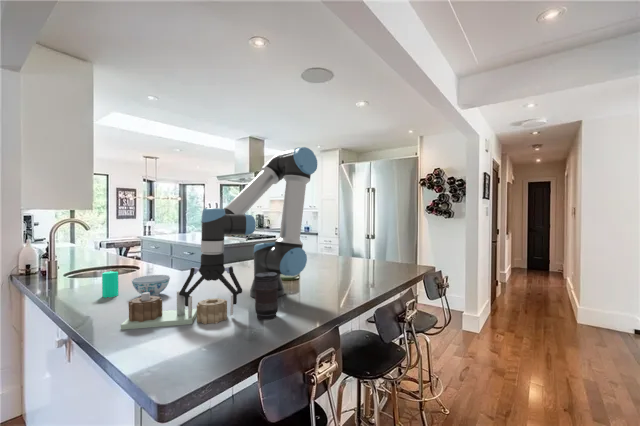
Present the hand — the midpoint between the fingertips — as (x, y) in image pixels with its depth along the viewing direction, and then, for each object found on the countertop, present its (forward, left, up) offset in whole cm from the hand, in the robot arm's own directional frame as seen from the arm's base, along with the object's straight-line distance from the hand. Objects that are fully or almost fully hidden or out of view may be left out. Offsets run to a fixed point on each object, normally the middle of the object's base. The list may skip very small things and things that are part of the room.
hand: (211, 315), depth 108 cm
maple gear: (0, 0, -2) cm, 2 cm away
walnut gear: (+21, -3, 0) cm, 21 cm away
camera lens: (-19, +2, -2) cm, 19 cm away
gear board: (+16, -3, -2) cm, 16 cm away
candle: (+47, -44, -2) cm, 64 cm away
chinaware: (+30, -40, -2) cm, 50 cm away
